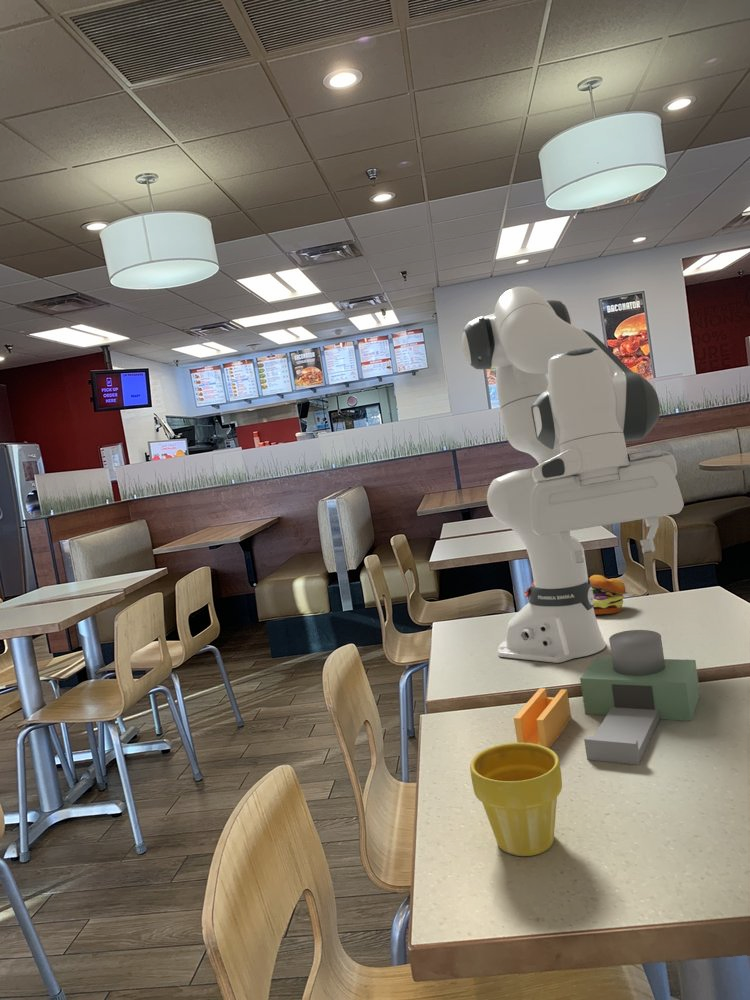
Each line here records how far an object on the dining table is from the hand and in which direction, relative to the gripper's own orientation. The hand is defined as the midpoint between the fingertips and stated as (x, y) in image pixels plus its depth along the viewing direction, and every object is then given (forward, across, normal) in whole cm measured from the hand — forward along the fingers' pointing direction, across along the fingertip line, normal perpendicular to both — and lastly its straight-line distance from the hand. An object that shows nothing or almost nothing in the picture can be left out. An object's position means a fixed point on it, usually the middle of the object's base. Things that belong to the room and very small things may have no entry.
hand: (613, 557), depth 96 cm
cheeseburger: (+16, -2, -78) cm, 80 cm away
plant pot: (+31, +17, +16) cm, 38 cm away
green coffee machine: (+26, +1, -14) cm, 29 cm away
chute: (+26, +14, -13) cm, 32 cm away
